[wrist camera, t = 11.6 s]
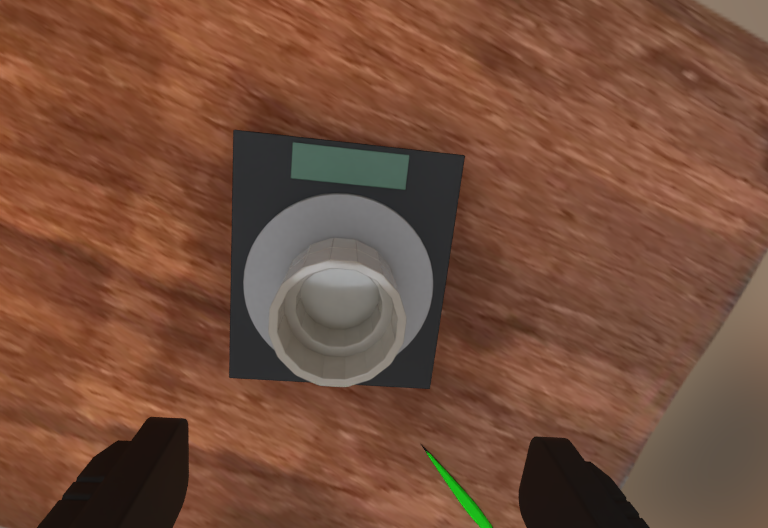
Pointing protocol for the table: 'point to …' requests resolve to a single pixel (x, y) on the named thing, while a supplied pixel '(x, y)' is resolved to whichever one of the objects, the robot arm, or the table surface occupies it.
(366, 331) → the white cup
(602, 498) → the robot arm
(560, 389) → the table surface
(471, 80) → the table surface
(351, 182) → the scale
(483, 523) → the leaf
